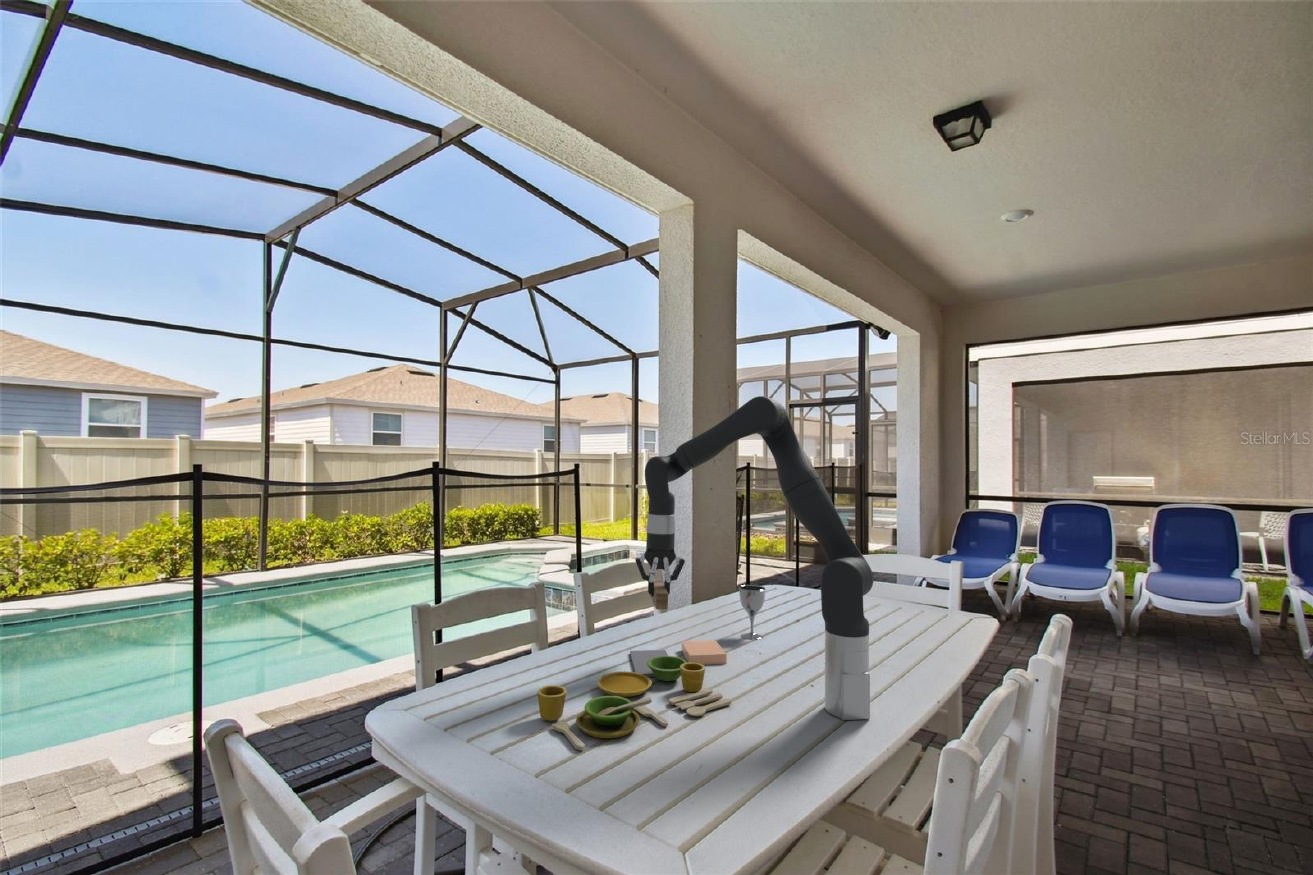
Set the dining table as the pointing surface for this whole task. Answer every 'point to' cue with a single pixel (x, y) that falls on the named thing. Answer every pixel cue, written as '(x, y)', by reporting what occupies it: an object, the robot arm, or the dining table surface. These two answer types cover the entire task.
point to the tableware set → (617, 712)
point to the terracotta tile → (704, 652)
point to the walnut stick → (660, 596)
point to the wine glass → (752, 606)
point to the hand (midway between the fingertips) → (658, 595)
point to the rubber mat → (645, 660)
